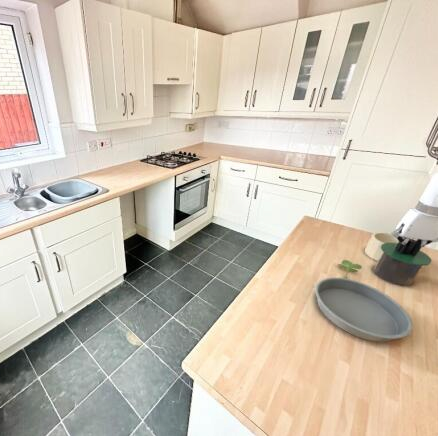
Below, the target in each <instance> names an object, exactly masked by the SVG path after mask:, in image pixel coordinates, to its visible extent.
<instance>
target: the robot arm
mask: <svg viewBox="0 0 438 436" xmlns="http://www.w3.org/2000/svg"><path fill="white" fill-rule="evenodd" d="M390 234H392V235H393V236H394V237H395V238H397V239H398V241H399V242H398V244H397V246H396V248H395V250H396V251H397V252H398V253H399V254H402V253H403V252H404V250H405V249H406V247H407V245H406V243H407V242H408V241H409V240H410V239H413V240H416V241H417V243H416V245H415V247H414V248H413V250H412V252H411V254H412V255H413V256H416V254H417V253H418V252H419V250H420V251H421V249H422V248H425V247H426V246H427V245H429V244H433V243H438V172H436V173H434V174H433V175H432V177H431V179H430V181H429V182H428V184H427V186H426V187H425V189H424V190H423V192H422V194H421V196H420V198H419V200H418V201H417V203H416V205H415V207H414V208H410V209H409V210H408V211H407V212H406V213H405V214H404V216H403V217H402V218H401V220H400V221H399V222H398V224H397V226H396V227H395V230H393V231H391V232H390ZM400 234H401V235H400Z"/></svg>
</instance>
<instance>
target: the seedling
mask: <svg viewBox="0 0 438 436" xmlns="http://www.w3.org/2000/svg"><path fill="white" fill-rule="evenodd" d="M337 265H338V266H339V267H340V268H342V269H345V270H347V271H346V273H345V278H347V277H348V273H349V272H352V273H358V272H359V270H361V269H362V265H361V264H359V263H353V262H352V261H350V260H346V259H343V260H342V261H341V263H338V264H337Z"/></svg>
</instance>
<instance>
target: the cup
mask: <svg viewBox="0 0 438 436" xmlns="http://www.w3.org/2000/svg"><path fill="white" fill-rule="evenodd" d="M422 268H423V266H419V265H412V264H408V263H405V262H402V261H399V260H396V259H394V258H392V257H390V256H388V255H387V254H386V253H384V252H382V254H381V256H380V258H379V260H378V261H376V264H375V265H374V267H373V273H374V274H375V275H376V276H378V277H379V278H380V279H382V280H384V281H386V282H388V283H390V284H393V285H398V286H409V285H411V284H412V283H413V282H414V280H415V279H416V278H417V276H418V274H419V273H420V271H421V269H422Z"/></svg>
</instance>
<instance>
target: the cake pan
mask: <svg viewBox="0 0 438 436" xmlns="http://www.w3.org/2000/svg"><path fill="white" fill-rule="evenodd" d="M315 295H316V298H317V299H316V300H317V306H318V307H319V309H320V311H321V312H322V313H323V315H324V316H325V317H326V318H327V319H328V320H329V321H330V322H331V323H333V324H334V325H335V326H337V327H338V328H339V329H341V330H342V331H345V332H346V333H349V334H350V335H353V336H355V337H358V338H360V339H363V340H366V341H372V342H376V343H377V342H381V343H382V342H384V343H385V342H389V341H393V340H396V339H402V338H405V337H408V336H409V335H410V334H412V331H413V327H414V326H413V321H412V318H411V316H410V315H409V314H408V312H407V311H406V310H405V309H404V307H403V306H402V305H400V304H399V303H398V302H397V301H396V300H395V299H393V298H392V297H390V296H389V295H388V294H386V293H385V292H382V291H381V290H379V289H378V288H375V287H373V286H371V285H368V284H366V283H363V282H361V281H357V280H354V279H350V278H347V277H327V278H324V279H321V280H320V281H318V283H317V284H316V285H315Z"/></svg>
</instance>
